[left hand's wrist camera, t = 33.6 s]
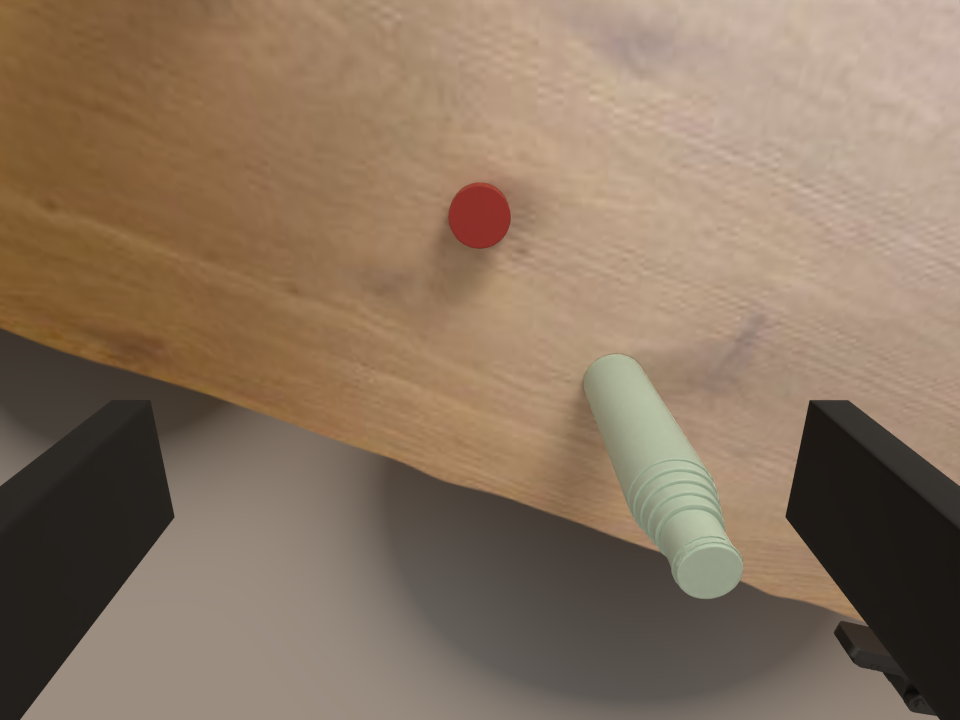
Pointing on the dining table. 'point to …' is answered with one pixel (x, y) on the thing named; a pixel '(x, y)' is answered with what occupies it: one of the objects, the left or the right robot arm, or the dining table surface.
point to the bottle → (662, 477)
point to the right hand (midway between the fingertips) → (880, 579)
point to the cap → (479, 215)
